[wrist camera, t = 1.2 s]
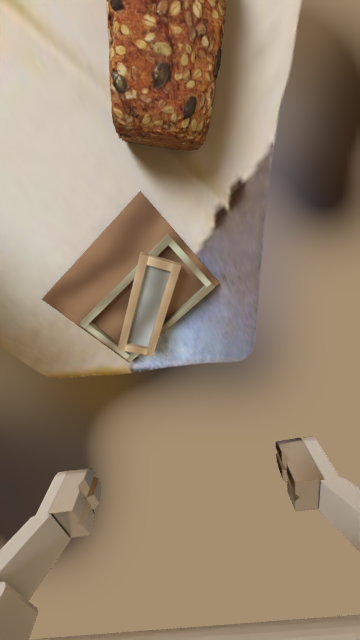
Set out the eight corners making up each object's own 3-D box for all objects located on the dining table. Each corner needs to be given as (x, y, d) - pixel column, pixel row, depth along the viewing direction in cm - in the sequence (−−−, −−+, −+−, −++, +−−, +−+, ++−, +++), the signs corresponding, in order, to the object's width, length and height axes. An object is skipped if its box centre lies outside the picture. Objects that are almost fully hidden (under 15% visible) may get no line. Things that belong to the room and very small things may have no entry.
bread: (113, -92, 22) (89, -304, 13) (220, -60, 23) (264, -227, 14) (117, 145, 30) (104, 117, 21) (197, 157, 31) (216, 136, 22)
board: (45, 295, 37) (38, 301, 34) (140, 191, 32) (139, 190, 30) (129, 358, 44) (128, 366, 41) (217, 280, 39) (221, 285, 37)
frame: (118, 343, 39) (117, 349, 37) (140, 251, 33) (140, 253, 31) (152, 349, 40) (152, 356, 39) (179, 263, 34) (181, 266, 33)
